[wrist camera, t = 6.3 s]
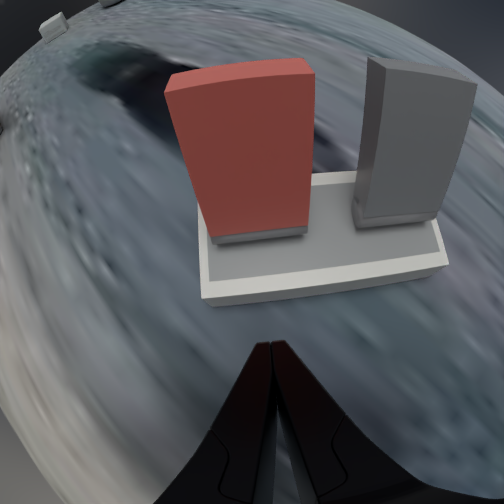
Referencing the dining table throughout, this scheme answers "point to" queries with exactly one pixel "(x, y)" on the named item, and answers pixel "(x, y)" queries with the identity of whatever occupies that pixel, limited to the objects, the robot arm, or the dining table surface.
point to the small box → (53, 27)
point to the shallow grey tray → (319, 253)
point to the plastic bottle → (108, 2)
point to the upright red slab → (247, 145)
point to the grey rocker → (409, 140)
